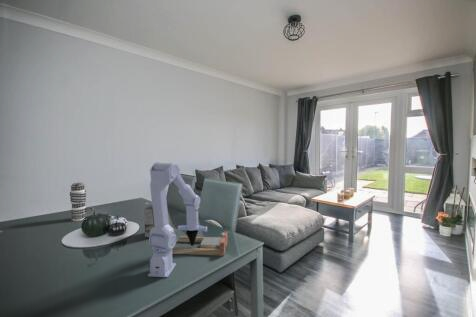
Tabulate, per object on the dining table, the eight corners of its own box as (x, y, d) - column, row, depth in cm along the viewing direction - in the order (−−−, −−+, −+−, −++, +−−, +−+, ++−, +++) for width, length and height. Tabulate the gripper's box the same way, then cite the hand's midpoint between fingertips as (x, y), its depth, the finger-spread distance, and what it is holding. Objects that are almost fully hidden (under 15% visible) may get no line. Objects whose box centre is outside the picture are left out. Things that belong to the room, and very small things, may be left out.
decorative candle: (72, 217, 154) (71, 182, 152) (88, 216, 158) (87, 181, 156) (69, 222, 146) (67, 184, 144) (85, 220, 149) (84, 183, 148)
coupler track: (223, 256, 101) (223, 243, 101) (170, 253, 103) (170, 241, 103) (227, 242, 116) (227, 231, 115) (181, 240, 118) (180, 229, 117)
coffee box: (155, 238, 121) (154, 209, 120) (144, 237, 122) (143, 208, 121) (163, 231, 130) (163, 204, 129) (153, 230, 131) (153, 204, 130)
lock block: (221, 253, 105) (221, 245, 104) (200, 252, 105) (200, 244, 105) (223, 245, 113) (223, 237, 112) (204, 244, 113) (204, 237, 113)
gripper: (208, 215, 112) (208, 241, 113) (180, 215, 113) (181, 240, 114) (205, 220, 105) (205, 248, 106) (175, 219, 106) (176, 246, 107)
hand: (192, 244), depth 110 cm, fingers closed
